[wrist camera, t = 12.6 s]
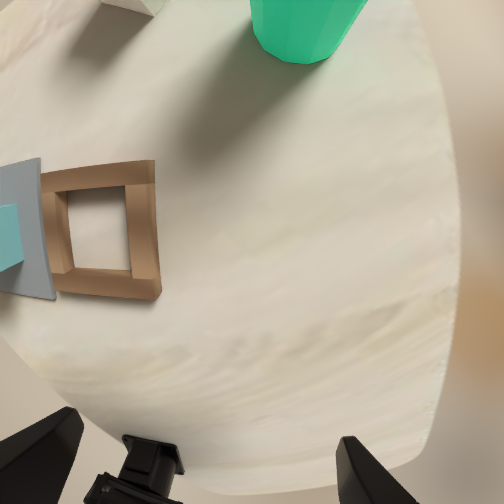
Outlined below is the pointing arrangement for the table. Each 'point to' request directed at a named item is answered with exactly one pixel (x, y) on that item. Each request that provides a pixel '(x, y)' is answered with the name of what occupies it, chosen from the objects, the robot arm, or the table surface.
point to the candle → (303, 27)
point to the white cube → (139, 5)
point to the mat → (27, 231)
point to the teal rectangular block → (9, 237)
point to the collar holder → (138, 223)
